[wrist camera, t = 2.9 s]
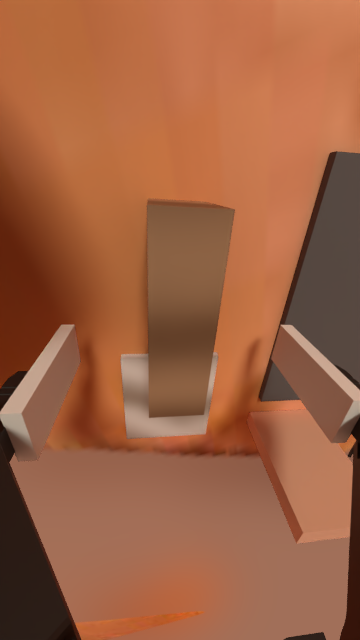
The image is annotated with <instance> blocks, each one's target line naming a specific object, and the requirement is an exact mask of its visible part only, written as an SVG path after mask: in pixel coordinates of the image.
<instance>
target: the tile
mask: <svg viewBox="0 0 360 640" xmlns="http://www.w3.org/2000/svg"><path fill="white" fill-rule="evenodd" d="M247 425H248V427H249V430H250V432H251V434H252V437H253V439H254V442H255V444H256V447H257V449H258V451H259V454H260V456H261V459H262V461H263V464H264V466H265V468H266V471H267V473H268V476H269V478H270V481H271V483H272V485H273V488H274V490H275V493H276V495H277V497H278V500H279V502H280V505H281V507H282V509H283V512H284V515H285V517H286V519H287V521H288V524H289V527H290V529H291V531H292V534H293V536H294V539H295V541H296V543H304V542H312V541H320V540H328V539H335V538H343V537H350V523H351V499H352V476H353V464H352V463H351V461H350V460H349V458H348V457H347V456H346V454H345V453H344V452H343V450H342V449H341V447H340V446H339V445H338V443H331V442H330V441H329V439H328V438H327V437H326V435H325V434H324V432H323V431H322V430H321V428H320V427H319V425H318V424H317V423H316V421H315V420H314V418H313V417H312V415H311V414H310V413H309V411H308V410H307V409H298V410H279V411H260V412H249V416H248V419H247Z"/></svg>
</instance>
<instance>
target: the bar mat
mask: <svg viewBox="0 0 360 640" xmlns="http://www.w3.org/2000/svg"><path fill="white" fill-rule="evenodd" d="M280 325H292V326H293V327H294V328H295V329H296V330H297V331H298V332H299V333H300V334H302V335H303V336H304V337H305V338H306V339H307V340H308V341H309V342H310V343H311V344H312V345H313V346H314V347H315V348H316V349H317V350H318V351H319V352H320V353H321V354H322V355H324V356H325V357H326V358H327V359H328V360H329V361H330V362H331V363H332V364H333V365H337V366H339V367H341V368H342V369H344V370H346V371H347V372H348V373H349V374H350V375H351V376H352V377H353V379H355V380H356V381H358V382H359V384H360V154H359V153H348V152H332V153H330V156H329V159H328V162H327V166H326V169H325V173H324V176H323V179H322V183H321V186H320V190H319V193H318V196H317V200H316V203H315V207H314V210H313V214H312V217H311V220H310V224H309V227H308V231H307V234H306V237H305V241H304V244H303V248H302V251H301V254H300V258H299V261H298V265H297V268H296V271H295V275H294V278H293V282H292V285H291V289H290V292H289V295H288V299H287V302H286V306H285V309H284V312H283V316H282V319H281V323H280ZM279 329H280V326H279ZM279 329H278V332H279ZM277 336H278V333H277ZM277 336H276V339H277ZM275 343H276V340H275ZM275 343H274V346H275ZM273 350H274V347H273ZM273 350H272V353H273ZM272 353H271V357H272ZM271 357H270V360H269V364H268V367H267V370H266V374H265V377H264V381H263V384H262V387H261V391H260V394H259V398H260V400H261V401H281V400H300V399H299V397H298V396H297V394H296V393H295V392H294V390H293V389H292V387H291V386H290V385H289V383H288V382H287V380H286V379H285V377H284V376H283V375H282V373H281V372H280V370H279V369H278V368H277V366H276V365H275V363H274V362H273V361H272V359H271Z"/></svg>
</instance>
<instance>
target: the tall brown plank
mask: <svg viewBox="0 0 360 640" xmlns="http://www.w3.org/2000/svg"><path fill="white" fill-rule="evenodd" d="M234 213H235V210H234V209H231V208H227V207H223V206H219V205H215V204H211V203H208V202H199V201H182V200H165V199H148V203H147V246H148V354H121V370H122V383H123V396H124V409H125V422H126V435H127V439H134V438H150V437H167V436H183V435H199V434H206V428H207V422H208V416H209V410H210V404H211V398H212V392H213V386H214V380H215V374H216V367H217V361H218V354H217V352H214V345H215V339H216V332H217V325H218V319H219V312H220V305H221V299H222V292H223V285H224V279H225V272H226V266H227V259H228V252H229V246H230V239H231V232H232V226H233V219H234Z"/></svg>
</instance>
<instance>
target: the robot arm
mask: <svg viewBox="0 0 360 640" xmlns="http://www.w3.org/2000/svg"><path fill="white" fill-rule="evenodd" d="M271 359H272V361H273V362H274V363H275V365H276V366H277V368H278V369H279V370H280V372H281V373H282V375H283V376H284V377H285V379H286V380H287V382H288V383H289V385H290V386H291V387H292V389H293V390H294V392H295V393H296V394H297V396H298V397H299V399H300V400H301V401H302V403H303V404H304V406H305V407H306V408H307V410H308V411H309V413H310V414H311V415H312V417H313V418H314V420H315V421H316V423H317V424H318V425H319V427H320V428H321V430H322V431H323V432H324V434H325V435H326V437H327V438H328V439H329V441H330V442H331V443H345V442H347V440H348V438H349V436H350V435H351V434H352V435H353V436H354V438H355V439H356V442H355V444H354V445H353V447H352V449H351V450H350V452H349V454H348V457H351V455H352V454H353V476H352V499H351V523H350V546H349V572H348V594H347V614H346V620H345V624H344V626H343V629H342V632H341V636H340V640H360V384H359V382H358V381H356V380H355V379H353V377H352V376H351V375H350V374H349V373H348V372H347V371H346V370H344V369H342V368H341V367H339V366H337V365H333V364H332V363H331V362H330V361H329V360H328V359H327V358H326V357H325V356H324V355H322V354H321V353H320V352H319V351H318V350H317V349H316V348H315V347H314V346H313V345H312V344H311V343H310V342H309V341H308V340H307V339H306V338H305V337H304V336H303V335H302V334H300V333H299V332H298V331H297V330H296V329H295V328H294V327H293V326H292V325H280V329H279V332H278V336H277V339H276V343H275V346H274V350H273V353H272V357H271ZM80 362H81V360H80V354H79V348H78V342H77V336H76V330H75V325H61V326H60V327H59V329H58V330H57V331H56V333H55V334H54V336H53V337H52V338H51V340H50V341H49V343H48V344H47V346H46V347H45V348H44V350H43V351H42V353H41V354H40V356H39V357H38V358H37V360H36V361H35V363H34V364H33V366H32V367H31V368H30V370H29V371H18V372H17V373H15V374H14V375H13V376H11V377H10V378H8V380H7V381H6V382H5V383H4V385H3V386H2V388H1V389H0V640H81V638H80V635H79V633H78V630H77V628H76V625H75V623H74V620H73V618H72V616H71V613H70V611H69V608H68V606H67V603H66V601H65V598H64V596H63V593H62V591H61V589H60V586H59V583H58V581H57V579H56V576H55V574H54V571H53V569H52V566H51V564H50V561H49V559H48V557H47V554H46V552H45V549H44V547H43V544H42V542H41V539H40V537H39V534H38V532H37V529H36V527H35V525H34V522H33V520H32V517H31V515H30V512H29V510H28V507H27V505H26V502H25V500H24V498H23V495H22V493H21V490H20V488H19V485H18V483H17V481H16V478H15V475H14V473H13V471H12V468H11V466H10V463H9V462H10V460H11V458H12V457H13V455H14V453H15V455H16V457H17V460H18V461H34V460H38V459H39V457H40V455H41V452H42V450H43V448H44V445H45V443H46V441H47V438H48V436H49V434H50V431H51V429H52V427H53V424H54V422H55V420H56V418H57V415H58V413H59V411H60V408H61V406H62V404H63V401H64V399H65V397H66V394H67V392H68V390H69V387H70V385H71V383H72V381H73V378H74V376H75V374H76V371H77V369H78V367H79V364H80ZM284 640H326V638H325V636H324V633H323V632H321V633H314V634H308V635H302V636H295V637H288V638H286V639H284Z"/></svg>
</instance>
